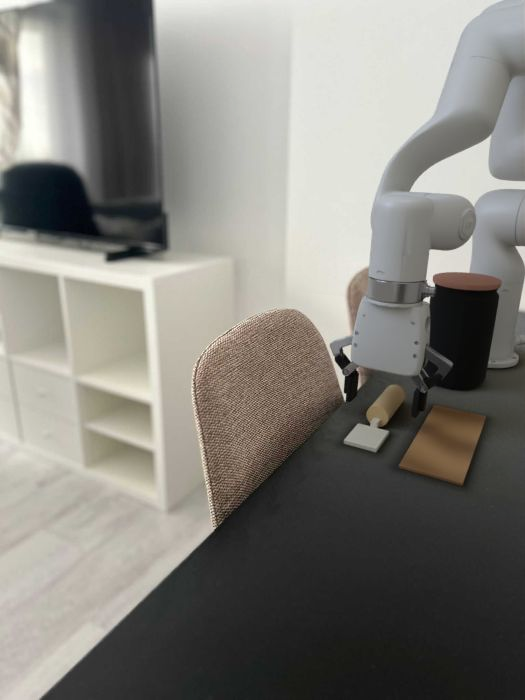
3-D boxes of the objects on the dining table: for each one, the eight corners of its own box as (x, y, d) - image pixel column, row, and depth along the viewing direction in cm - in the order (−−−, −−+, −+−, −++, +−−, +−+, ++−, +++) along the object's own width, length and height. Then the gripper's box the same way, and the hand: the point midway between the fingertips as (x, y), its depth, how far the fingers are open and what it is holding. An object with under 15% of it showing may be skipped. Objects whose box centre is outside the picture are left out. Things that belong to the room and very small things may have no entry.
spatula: (380, 400, 81) (381, 381, 80) (408, 406, 79) (410, 387, 78) (343, 443, 68) (345, 422, 67) (376, 452, 66) (378, 430, 65)
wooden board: (434, 407, 79) (434, 404, 79) (485, 418, 76) (486, 416, 76) (398, 468, 63) (398, 465, 63) (462, 486, 59) (462, 483, 59)
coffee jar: (482, 372, 93) (499, 274, 87) (486, 395, 84) (505, 287, 78) (421, 365, 96) (433, 270, 90) (418, 386, 87) (431, 281, 81)
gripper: (467, 294, 68) (449, 410, 74) (344, 279, 76) (336, 385, 82) (457, 305, 62) (438, 431, 67) (324, 287, 70) (317, 402, 75)
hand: (382, 406), depth 75 cm, fingers open, 9 cm apart
